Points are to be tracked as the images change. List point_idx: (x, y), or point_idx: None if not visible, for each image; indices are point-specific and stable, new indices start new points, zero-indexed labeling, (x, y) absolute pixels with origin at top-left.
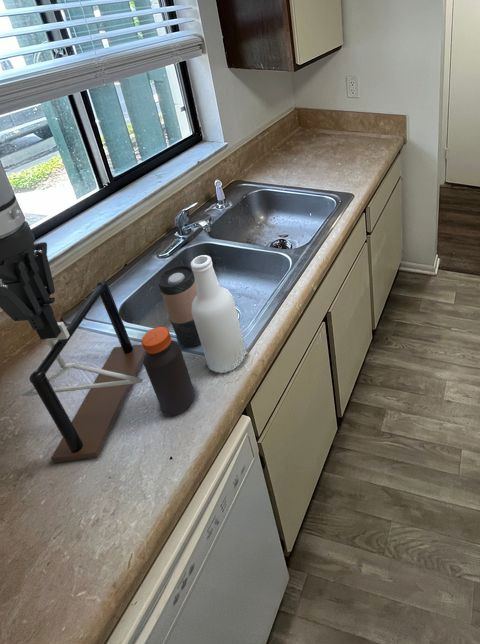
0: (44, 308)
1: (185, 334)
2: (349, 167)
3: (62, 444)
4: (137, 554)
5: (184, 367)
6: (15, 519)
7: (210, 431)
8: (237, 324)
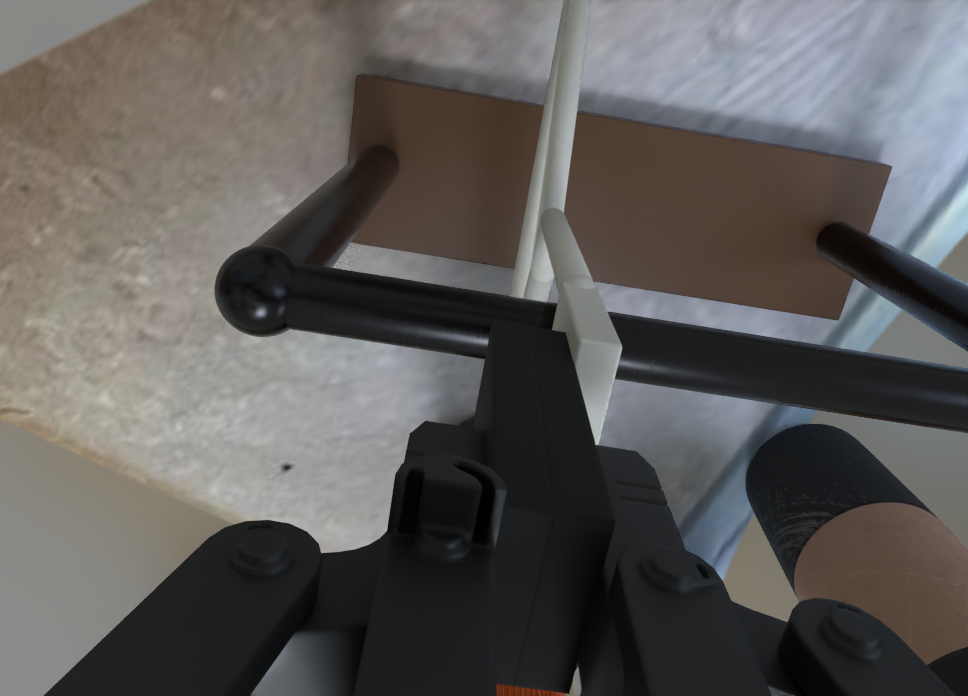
0: (516, 673)
1: (772, 516)
2: None
3: (407, 101)
4: (25, 425)
5: None
6: (172, 14)
7: None
8: None
